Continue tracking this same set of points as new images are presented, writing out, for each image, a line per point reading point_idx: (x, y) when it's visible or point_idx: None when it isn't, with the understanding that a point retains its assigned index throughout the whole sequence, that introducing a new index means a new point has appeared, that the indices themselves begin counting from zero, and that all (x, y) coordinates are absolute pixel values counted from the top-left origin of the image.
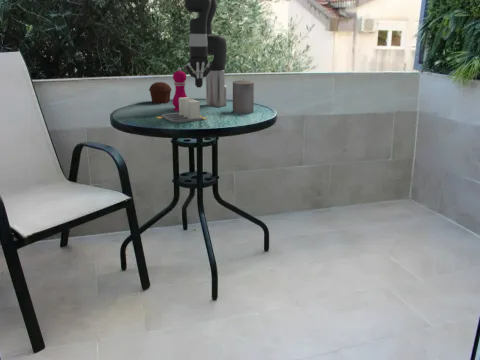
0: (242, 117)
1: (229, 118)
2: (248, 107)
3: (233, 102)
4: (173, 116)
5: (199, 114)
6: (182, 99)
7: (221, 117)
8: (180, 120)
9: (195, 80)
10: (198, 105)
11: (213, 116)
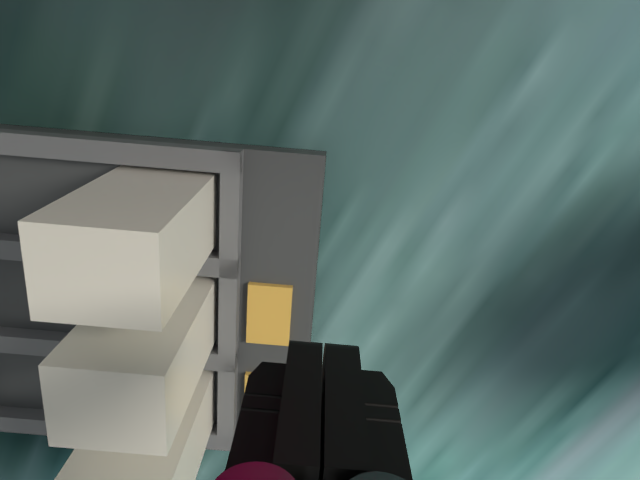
0: (621, 420)
1: (505, 401)
2: None
3: None
4: (22, 260)
5: (201, 452)
6: (49, 317)
7: (476, 339)
8: (32, 433)
9: (232, 459)
10: None
11: (444, 269)
